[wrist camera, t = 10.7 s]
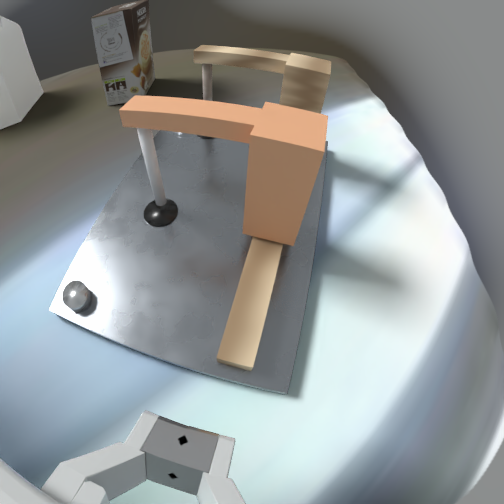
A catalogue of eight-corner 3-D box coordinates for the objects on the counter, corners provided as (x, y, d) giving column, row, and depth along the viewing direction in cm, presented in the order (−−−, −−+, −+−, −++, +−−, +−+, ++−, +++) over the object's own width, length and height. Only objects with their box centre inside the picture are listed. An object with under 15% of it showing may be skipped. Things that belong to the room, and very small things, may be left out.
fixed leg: (97, 319, 20) (19, 243, 10) (206, 121, 33) (205, 42, 24) (262, 373, 19) (295, 332, 10) (311, 142, 32) (331, 61, 23)
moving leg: (142, 216, 24) (110, 118, 15) (160, 184, 26) (141, 88, 17) (291, 253, 23) (324, 151, 14) (298, 214, 25) (327, 115, 16)
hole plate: (56, 314, 21) (43, 305, 19) (174, 120, 35) (173, 107, 33) (284, 394, 19) (290, 392, 17) (325, 149, 34) (329, 135, 32)
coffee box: (144, 101, 38) (131, 7, 24) (107, 106, 37) (89, 18, 24) (156, 78, 43) (149, -2, 29) (123, 82, 42) (111, 5, 28)
